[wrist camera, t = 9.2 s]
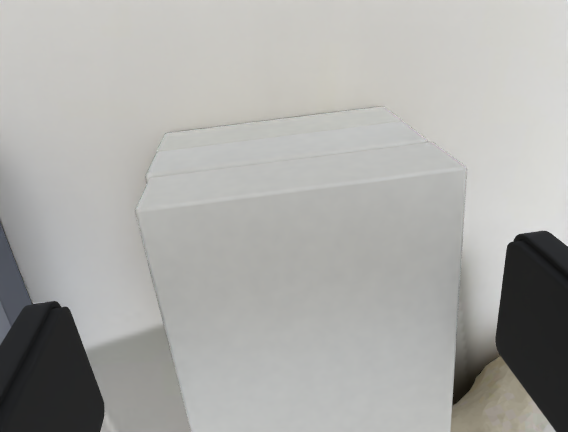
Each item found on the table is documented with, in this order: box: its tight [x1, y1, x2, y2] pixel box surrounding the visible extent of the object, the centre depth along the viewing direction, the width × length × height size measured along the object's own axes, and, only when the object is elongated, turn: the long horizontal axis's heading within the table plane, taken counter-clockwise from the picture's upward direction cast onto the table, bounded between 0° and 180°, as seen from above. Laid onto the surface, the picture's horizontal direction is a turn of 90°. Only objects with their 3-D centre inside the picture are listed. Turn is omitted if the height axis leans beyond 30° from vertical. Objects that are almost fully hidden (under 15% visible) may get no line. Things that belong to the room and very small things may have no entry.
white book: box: [135, 142, 467, 432], centre depth 12 cm, size 8×6×2 cm
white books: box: [145, 106, 428, 183], centre depth 14 cm, size 8×6×4 cm
